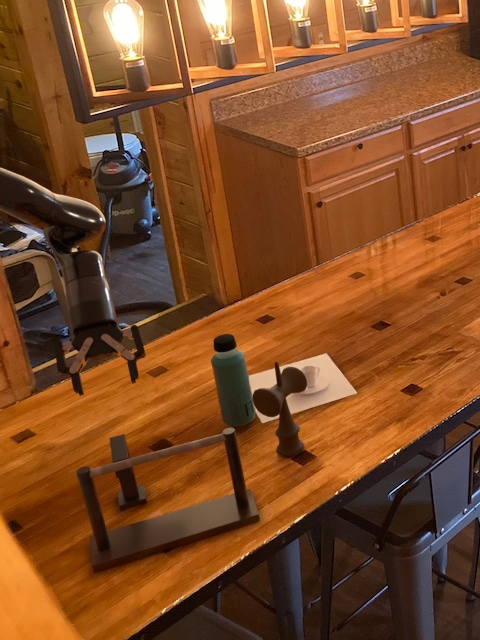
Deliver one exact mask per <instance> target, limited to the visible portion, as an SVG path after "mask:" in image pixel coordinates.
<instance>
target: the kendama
mask: <svg viewBox="0 0 480 640" xmlns="http://www.w3.org/2000/svg"><path fill="white" fill-rule="evenodd" d="M279 367H280V363H279V362H278V361H275V362H274V368H275V373H276V381H277V384H276V385H274V386H273V387H271V388H259V389H257V390H255V391H254V393H253V403H254V406H255V407H256V409H257V410H258V411H259V412H260V413H261V414H263V415H265V416H267V417H275V416H278V415H279V418H278V427H277V429H276V430H275V433H274V434H275V436H276V437H277V438H278V445H277V447H276V449H275V452H276V454H277V455H279V456H281V457H285V458H289V457H294V456H296V455H298V454H300V453H301V452H302V451H303V450H304V448H305V442H304V441H302V439H300V437H299V432H300V430H301V426H299V424H297V423H295V420H294V419H293V415H292V414H291V413H290V410H289V407H288V404H287V400H286V397H287V396H288V395H290V394H291V393H300V392H303V391H305V389H306V387H307V379H306V376H305V375H304V373H303V372H302V371H301V370H299V369H298V368H295V367H287V368H284V369H283V371H282V373H280V368H279Z"/></svg>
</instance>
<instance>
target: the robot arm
mask: <svg viewBox="0 0 480 640" xmlns="http://www.w3.org/2000/svg"><path fill="white" fill-rule="evenodd" d="M0 211H2V212H4V213H6V214H8V215H9V216H11V217H14V218H16V219H17V220H20V221H21V222H23V223H25V224H27V225H30V226H31V227H34V228H37V229H42V233H43V238H44V239H45V241H46V243H47V245H48V247H49V248H50V250H51V251H52V253H53V255H54V257H55V259H56V261H57V263H58V265H59V267H60V269H61V274H62V279H63V284H64V290H65V302H66V307H67V312H68V316H69V321H70V327H71V332H72V339H71V340H69V341H64V342H62V341H60V340H57V341H55V342H54V345H53V346H54V351H55V352H54V354H55V361H56V370H57V373H58V375H59V376H60V377H70V379H71V384H72V385H71V386H72V389H73V391H74V393H75V394H78V395H79V396H80V397H83V396H84V395H85V392H84V386H83V382H82V381H83V380H82V376H81V374H80V373H81V372H82V370H83V368H84V367H85V366H86V364H87V363H88V361H89V360H92V361H96V360H97V361H98V360H99V359H101V358H109V357H112V356H113V355H115V354H116V355H117V356H118V357H120V358H121V359H124V360H125V361H126V363H127V368H128V372H129V377H130V382H131V384H137V380H139V377H140V374H139V370H138V365H137V363H138V361H139V360H141V359H145V358H146V355H147V354H146V350H145V346H144V344H143V343H144V342H143V340H142V337H141V333H140V330H139V326H138V325H137V324H132V325H131V326H130V327H127V328H124V329H122V328H121V327H120V325H119V321H118V316H117V313H116V308H115V303H114V296H113V294H112V290H111V287H110V285H109V281H108V278H107V273H106V268H105V264H104V260H103V257H102V255H101V254H100V253H99V252H97V250H96V251H95V250H92V249H91V250H90V249H84V250H78V246H81V245H83V244H85V243H89V242H90V241H92V240H95V239H97V238H99V237H100V236H101V235H102V234H103V233H104V232H105V230H106V226H107V221H106V219H105V215H104V214H103V212H102V211H101V210H100V209H99V208H98V207H96V206H95V205H94V204H92V203H90V202H88V201H86V200H83V199H81V198H80V199H79V198H76V197H72V196H68V195H65V194H59V193H56V192H55V193H54V192H53V191H51V190H50V189H48V188H46V187H44V186H43V185H41V184H38V183H37V182H35V181H33V180H32V179H30V178H27V177H26V176H23V175H21V174H18V173H16V172H14V171H11V170H8V169H5V168H3V167H0ZM124 337H127V338H128V339H129V340H130V341H132V340H133V343H134V345H135V348H136V351H134V352H131V351H130V350H128V349H127V348H126V347H125V346H123V345H122V344H121V342H122V340H123V339H124ZM72 348H73V349H74V350H75V351H77V352H78V353H77V355H76V356H75V358H74V360H73V363H72V364H71V366H70V367H69V366H67V361H66V355H68V354H69V353H70V349H72Z"/></svg>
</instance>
